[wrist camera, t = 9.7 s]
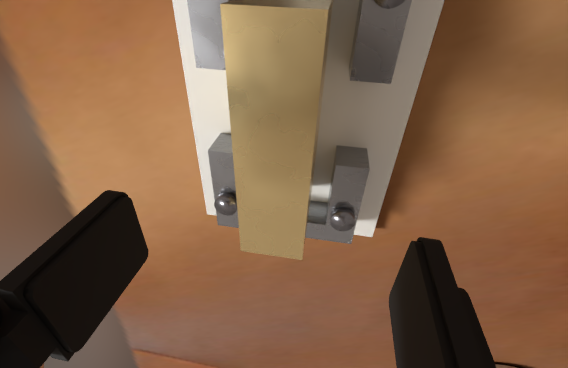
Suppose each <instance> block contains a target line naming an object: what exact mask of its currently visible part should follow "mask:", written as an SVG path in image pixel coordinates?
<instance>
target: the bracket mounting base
mask: <svg viewBox="0 0 568 368" xmlns="http://www.w3.org/2000/svg"><path fill="white" fill-rule="evenodd" d="M228 1H232V0H187V4H188V11H189V19H190V26H191V33H192V40H193V48H194V55H195V62H196V68H204V69H216V70H226V68H225V56H224V44H223V32H222V20H221V8H220V4H221V3H225V2H228ZM411 2H412V0H360V1H359V7H358V13H357V20H356V26H355V32H354V38H353V45H352V51H351V57H350V64H349V77H350V81H361V82H373V83H385V84H391V82H392V78H393V74H394V70H395V66H396V62H397V58H398V54H399V50H400V46H401V42H402V38H403V34H404V30H405V26H406V22H407V18H408V14H409V10H410V6H411ZM208 156H209V164H210V171H211V178H212V185H213V192H214V200H215V202H214V207H215V209H216V214H217V221H218V225H222V226H229V227H236V228H239V222H238V210H237V198H236V186H235V175H234V163H233V151H232V139H231V134H228V133H220V135H219V136H218V137H217V139H216V140H215V141H214V143H213V144H212V145H211V147H210V148H209V149H208ZM369 170H370V167H369V159H368V152H367V148H359V147H350V146H340V145H336V152H335V158H334V164H333V170H332V177H331V183H330V189H329V196H328V202H319V201H312V200H311V201H310V208H309V215H308V222H307V230H306V238H313V239H320V240H327V241H334V242H341V243H348V244H351V243H352V239H353V235H354V230H355V226H356V222H357V218H358V214H359V210H360V206H361V202H362V198H363V194H364V190H365V186H366V182H367V178H368V174H369Z"/></svg>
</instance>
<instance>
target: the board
mask: <svg viewBox="0 0 568 368" xmlns="http://www.w3.org/2000/svg"><path fill="white" fill-rule="evenodd" d="M359 1H360V0H333V6H332V15H331V24H330V33H329V42H328V51H327V60H326V70H325V79H324V88H323V97H322V106H321V115H320V124H319V133H318V142H317V151H316V160H315V169H314V178H313V187H312V194H311V200H312V201H319V202H328V196H329V189H330V183H331V177H332V170H333V164H334V158H335V152H336V145H340V146H350V147H359V148H367V152H368V159H369V167H370V170H369V174H368V178H367V182H366V186H365V190H364V194H363V198H362V202H361V206H360V210H359V214H358V218H357V222H356V226H355V230H354V235H361V236H368V237H372V236H373V233H374V230H375V226H376V223H377V220H378V217H379V213H380V210H381V207H382V203H383V200H384V197H385V194H386V190H387V187H388V184H389V181H390V177H391V174H392V171H393V167H394V164H395V161H396V158H397V154H398V151H399V148H400V144H401V141H402V138H403V135H404V131H405V128H406V125H407V122H408V118H409V115H410V112H411V108H412V105H413V102H414V99H415V95H416V92H417V89H418V86H419V82H420V79H421V76H422V72H423V69H424V66H425V63H426V59H427V56H428V53H429V50H430V46H431V43H432V40H433V36H434V33H435V30H436V27H437V23H438V20H439V17H440V13H441V10H442V7H443V4H444V0H412V2H411V6H410V10H409V14H408V18H407V22H406V26H405V30H404V34H403V38H402V42H401V46H400V50H399V54H398V58H397V62H396V66H395V70H394V74H393V78H392V82H391V84H385V83H373V82H361V81H350V77H349V64H350V57H351V51H352V45H353V38H354V32H355V26H356V20H357V13H358V7H359ZM172 2H173V8H174V14H175V20H176V26H177V32H178V38H179V45H180V51H181V57H182V63H183V69H184V75H185V81H186V87H187V93H188V100H189V106H190V112H191V118H192V124H193V130H194V136H195V142H196V149H197V155H198V161H199V167H200V173H201V179H202V185H203V191H204V198H205V204H206V210H207V214H209V215H217V214H216V209H215V207H214V202H215V200H214V192H213V185H212V178H211V171H210V164H209V156H208V149H209V148H210V147H211V145H212V144H213V143H214V141H215V140H216V139H217V137H218V136H219V135H220V133H228V134H231V127H230V115H229V103H228V91H227V79H226V70H216V69H204V68H196V62H195V55H194V48H193V40H192V33H191V26H190V19H189V11H188V4H187V0H172Z"/></svg>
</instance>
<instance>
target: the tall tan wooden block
mask: <svg viewBox="0 0 568 368" xmlns="http://www.w3.org/2000/svg"><path fill="white" fill-rule="evenodd" d="M332 6H333V0H232V1H228V2H225V3H221V4H220V8H221V20H222V32H223V44H224V56H225V68H226V79H227V91H228V103H229V115H230V127H231V139H232V151H233V163H234V175H235V186H236V198H237V210H238V222H239V234H240V246H241V251H245V252H252V253H259V254H265V255H272V256H279V257H286V258H292V259H299V260H302V258H303V251H304V244H305V237H306V230H307V222H308V215H309V208H310V201H311V194H312V187H313V178H314V169H315V160H316V151H317V142H318V133H319V124H320V115H321V106H322V97H323V88H324V79H325V70H326V60H327V51H328V42H329V33H330V24H331V15H332Z"/></svg>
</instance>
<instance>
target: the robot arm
mask: <svg viewBox="0 0 568 368" xmlns="http://www.w3.org/2000/svg"><path fill="white" fill-rule="evenodd" d="M147 257H148V248H147V245H146V242H145V239H144V236H143V233H142V230H141V227H140V224H139V221H138V218H137V215H136V212H135V208H134V205H133V202H132V200H131V198H129V197H128V195H127V194H126V193H124V192H118V191H111V190H107V191H105V192H103V193H102V194H101V195H100V196H99V197H97V198H96V199H95V200H94V201H93V202H92V203H90V204H89V205H88V206H87V207H86V208H85V209H83V210H82V211H81V212H80V213H79V214H78V215H77V216H75V217H74V218H73V219H72V220H71V221H70V222H68V223H67V224H66V225H65V226H64V227H63V228H61V229H60V230H59V231H58V232H57V233H56V234H54V235H53V236H52V237H51V238H50V239H49V240H47V241H46V242H45V243H44V244H43V245H42V246H40V247H39V248H38V249H37V250H36V251H35V252H33V253H32V254H31V255H30V256H29V257H28V258H26V259H25V260H24V261H23V262H22V263H21V264H20V265H18V266H17V267H16V268H15V269H14V270H12V271H11V272H10V273H9V274H8V275H7V276H5V277H4V278H3V279H2V280H1V281H0V368H43V367H44V362H45V361H46V360H47V358H48V357H49V356H51V357H52V358H55V359H59V360H64V361H69V360H70V358H71V357H72V356H73V354H74V353H75V352H77V351H79V350H80V349H81V348H82V347H83V346H84V345H85V343H86V342H87V341H88V339H89V338H90V336H91V335H92V334H93V332H94V331H95V330H96V328H97V327H98V325H99V324H100V323H101V321H102V320H103V319H104V317H105V316H106V315H107V313H108V312H109V311H110V309H111V308H112V306H113V305H114V304H115V302H116V301H117V300H118V298H119V297H120V295H121V294H122V293H123V291H124V290H125V289H126V287H127V286H128V284H129V283H130V282H131V280H132V279H133V278H134V276H135V275H136V273H137V272H138V271H139V269H140V268H141V267H142V265H143V264H144V263H145V261H146V259H147ZM389 308H390V316H391V324H392V333H393V341H394V349H395V357H396V365H397V368H517V367H513V366H507V365H499V364H495V363H494V360H493V357H492V355H491V352H490V349H489V347H488V344H487V341H486V339H485V336H484V334H483V331H482V328H481V326H480V323H479V320H478V318H477V315H476V313H475V310H474V307H473V305H472V302H471V299H470V297H469V295H468V293H467V292H466V291H465V290H464V289H462V288H458V287H457V284H456V281H455V278H454V275H453V273H452V270H451V267H450V264H449V261H448V258H447V256H446V253H445V250H444V247H443V244H442V242H441V241H440V240H435V239H429V238H422V237H419V238H418V239H417V241H411V243H410V245H409V248H408V250H407V252H406V255H405V257H404V260H403V262H402V265H401V267H400V270H399V272H398V275H397V277H396V280H395V282H394V285H393V287H392V290H391V292H390V296H389Z"/></svg>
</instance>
